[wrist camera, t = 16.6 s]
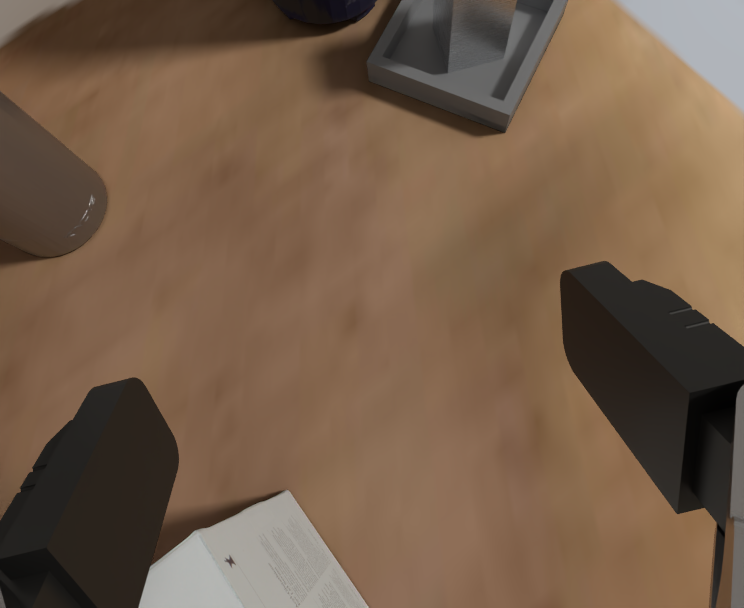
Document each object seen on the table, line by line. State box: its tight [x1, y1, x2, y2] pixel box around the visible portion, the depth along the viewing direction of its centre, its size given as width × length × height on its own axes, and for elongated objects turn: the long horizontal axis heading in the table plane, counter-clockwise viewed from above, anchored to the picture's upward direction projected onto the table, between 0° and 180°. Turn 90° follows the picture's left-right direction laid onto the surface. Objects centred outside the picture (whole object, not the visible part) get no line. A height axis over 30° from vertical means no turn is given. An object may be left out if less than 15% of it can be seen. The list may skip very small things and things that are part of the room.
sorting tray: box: [367, 0, 568, 133], centre depth 46 cm, size 13×13×2 cm
